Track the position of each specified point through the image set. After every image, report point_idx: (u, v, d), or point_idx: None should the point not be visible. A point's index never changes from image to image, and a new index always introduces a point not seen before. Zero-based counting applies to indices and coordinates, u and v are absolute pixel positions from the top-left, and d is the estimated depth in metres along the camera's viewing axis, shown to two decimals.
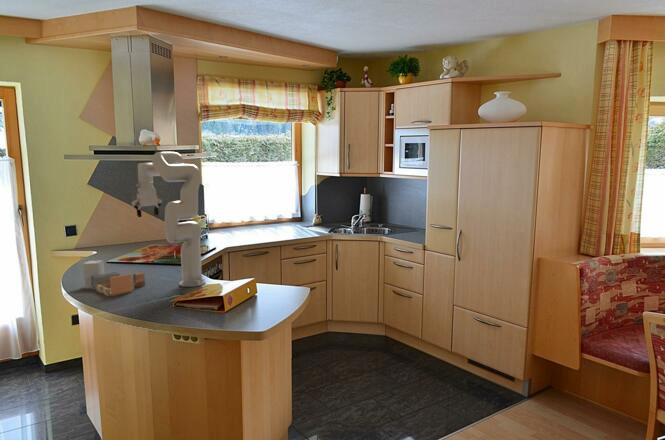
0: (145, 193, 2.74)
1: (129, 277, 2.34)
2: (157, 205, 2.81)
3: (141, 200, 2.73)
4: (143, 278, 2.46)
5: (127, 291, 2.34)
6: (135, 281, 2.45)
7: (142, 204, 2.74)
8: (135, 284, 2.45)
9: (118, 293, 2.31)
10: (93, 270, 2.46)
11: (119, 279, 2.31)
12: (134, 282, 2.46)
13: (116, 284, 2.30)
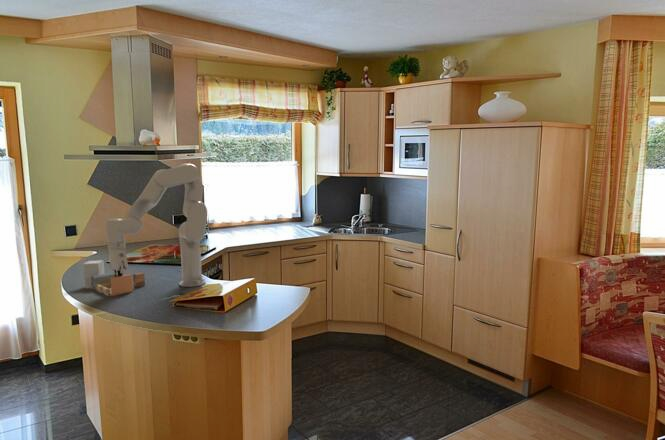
0: None
1: (130, 277, 2.33)
2: None
3: None
4: (143, 278, 2.46)
5: (127, 291, 2.34)
6: (135, 281, 2.45)
7: None
8: (135, 284, 2.45)
9: (118, 293, 2.31)
10: (93, 270, 2.46)
11: (120, 279, 2.30)
12: (134, 282, 2.46)
13: (116, 284, 2.29)
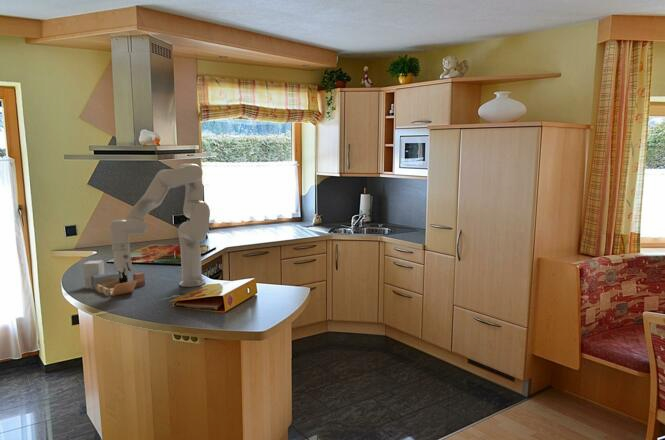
0: None
1: (134, 284, 2.31)
2: None
3: (131, 264, 2.27)
4: (143, 278, 2.46)
5: (127, 292, 2.33)
6: None
7: None
8: None
9: (118, 294, 2.31)
10: (93, 271, 2.46)
11: (124, 286, 2.28)
12: None
13: (119, 289, 2.28)
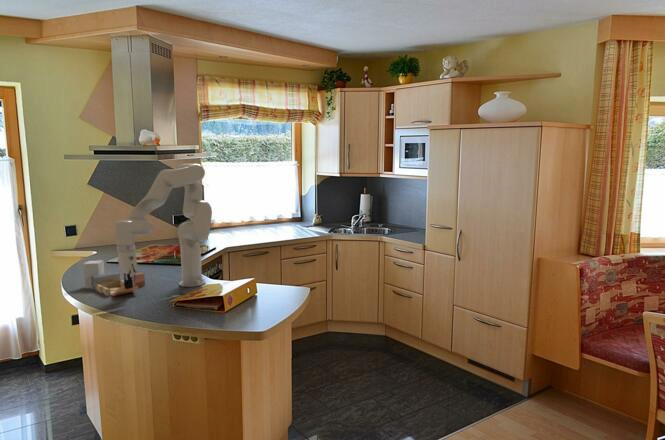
0: None
1: (135, 288, 2.30)
2: None
3: (136, 265, 2.23)
4: (143, 278, 2.46)
5: None
6: (135, 281, 2.45)
7: None
8: (135, 284, 2.45)
9: None
10: (93, 271, 2.46)
11: (125, 291, 2.27)
12: (134, 282, 2.46)
13: (120, 292, 2.27)
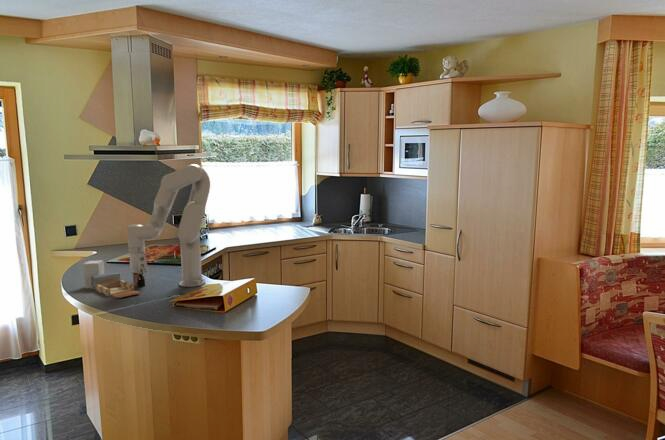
0: None
1: (136, 293, 2.30)
2: None
3: None
4: None
5: None
6: (135, 281, 2.45)
7: None
8: (135, 284, 2.45)
9: None
10: (93, 271, 2.46)
11: (126, 295, 2.27)
12: (134, 282, 2.46)
13: None
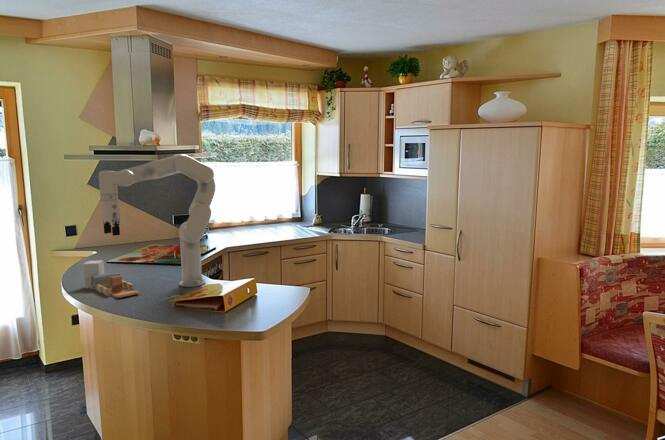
0: None
1: (136, 293, 2.30)
2: None
3: None
4: (121, 281, 2.36)
5: None
6: (112, 284, 2.35)
7: None
8: (112, 287, 2.35)
9: None
10: (93, 270, 2.46)
11: (126, 295, 2.27)
12: (111, 285, 2.36)
13: None
